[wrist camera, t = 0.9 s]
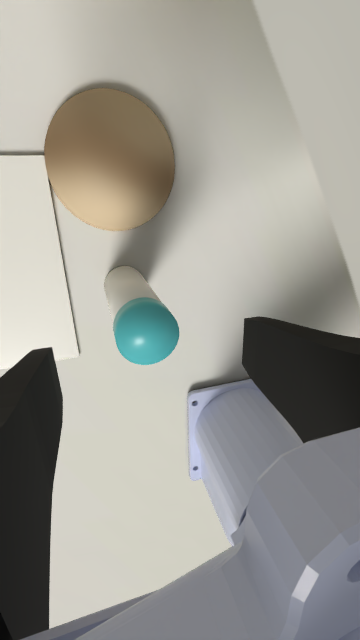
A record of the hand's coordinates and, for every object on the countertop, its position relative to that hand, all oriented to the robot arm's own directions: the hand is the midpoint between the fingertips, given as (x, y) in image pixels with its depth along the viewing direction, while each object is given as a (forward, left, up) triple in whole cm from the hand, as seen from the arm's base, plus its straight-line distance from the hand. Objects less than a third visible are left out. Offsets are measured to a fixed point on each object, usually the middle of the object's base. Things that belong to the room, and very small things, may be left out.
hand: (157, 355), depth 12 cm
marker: (0, 0, -10) cm, 10 cm away
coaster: (+7, 0, -10) cm, 12 cm away
